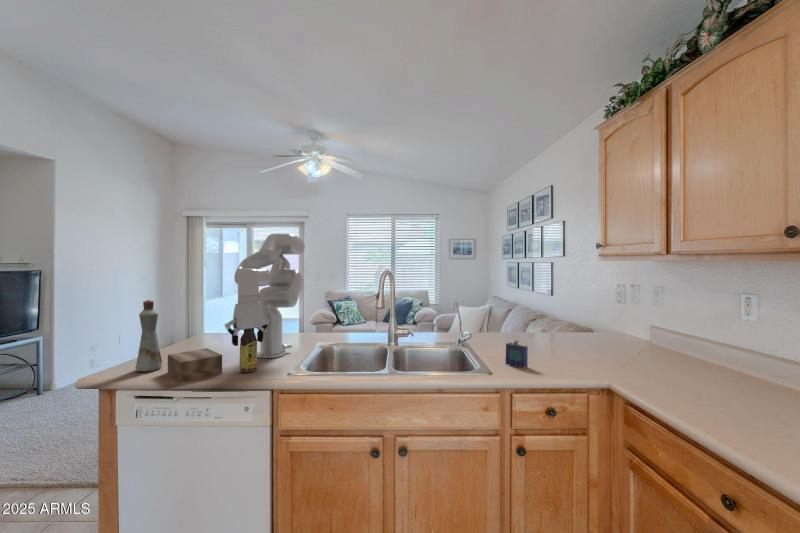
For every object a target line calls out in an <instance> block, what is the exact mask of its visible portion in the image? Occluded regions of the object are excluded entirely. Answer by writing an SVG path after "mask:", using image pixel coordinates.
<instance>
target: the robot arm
mask: <svg viewBox="0 0 800 533" xmlns="http://www.w3.org/2000/svg"><path fill="white" fill-rule="evenodd" d="M305 245H306V244H305V242H304V240H303V238H302V237H300V236H298V235H297V234H296V235H295V234H294V233H271V234H269V235H267V237H266V238H265V240H264V242H263V243H262V245H261V247H260V249H259V251H257V252H255V253H254V252H253V253H252V254H250V255H249V256H247V257H245V258H244V259H243V260H242V261H240V263H239V265H238V266H237V268H236V270H235V273H234V278H233V279H234V282H235V283H236V284H237V303H235V304H234V310H233V315H232V316H233V317H232V320H230V321H228V322H227V323H225V324H224V327H225V329H226V331H227V332H228V333H229V334H230V335H231V344H232V345H233V346H235V347H238V346H239V335H238V333H239V332H240V331H244V330H245V329H253V328H254V329H257V333H256V334H257V335H256V336H257V337H256V339H257V342H259V343H260V347H259V348H260V350H259V352H258V351H257V358H259V359H275V358H281V357H283V356H285V355H286V349H292V348H293V345H292V343H288V344H286V343H283V315H282V313H281V311H280V310H279V309H280V308H283V309H284V308H286V309H287V308H294V307H295V306H296V305H297V304H298V300H299V295H300V292H301V288H302V286H303V285H302V283H303V275H302V273H301V271H299V270H297V269H291V264H290V262H289V260H288V259H287V258H286V257H285V256H284V255H299V256H300V255H301V254H303V253H304V251H305V248H306V247H305ZM268 266H271V268H270V270H269V269H267V268H265V267H268ZM259 287H262V288H261V289H260V288H259ZM259 289H260V290H259ZM231 326H232V327H231ZM232 328H233V329H232Z"/></svg>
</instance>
